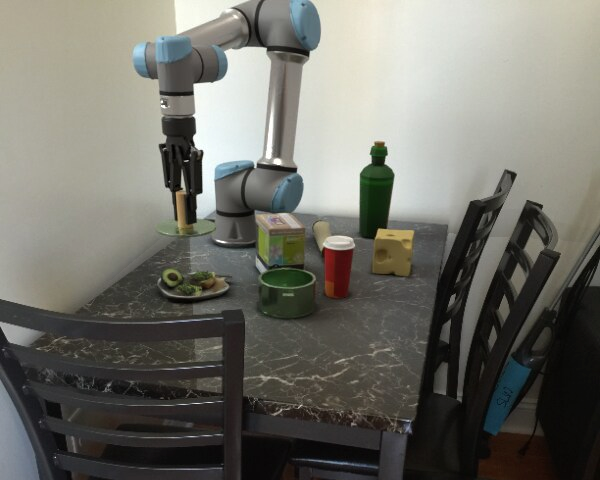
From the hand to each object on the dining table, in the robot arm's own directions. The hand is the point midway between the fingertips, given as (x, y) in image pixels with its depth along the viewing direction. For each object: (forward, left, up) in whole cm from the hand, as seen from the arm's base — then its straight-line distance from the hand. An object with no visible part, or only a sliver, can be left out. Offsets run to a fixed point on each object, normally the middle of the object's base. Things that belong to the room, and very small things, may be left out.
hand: (185, 221), depth 155 cm
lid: (0, 0, -2) cm, 2 cm away
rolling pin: (+2, +50, -18) cm, 53 cm away
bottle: (+4, +71, -18) cm, 73 cm away
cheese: (+27, +49, -18) cm, 59 cm away
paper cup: (+28, +24, -18) cm, 41 cm away
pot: (+25, +9, -17) cm, 32 cm away
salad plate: (0, 0, -18) cm, 18 cm away
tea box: (+8, +24, -18) cm, 31 cm away
